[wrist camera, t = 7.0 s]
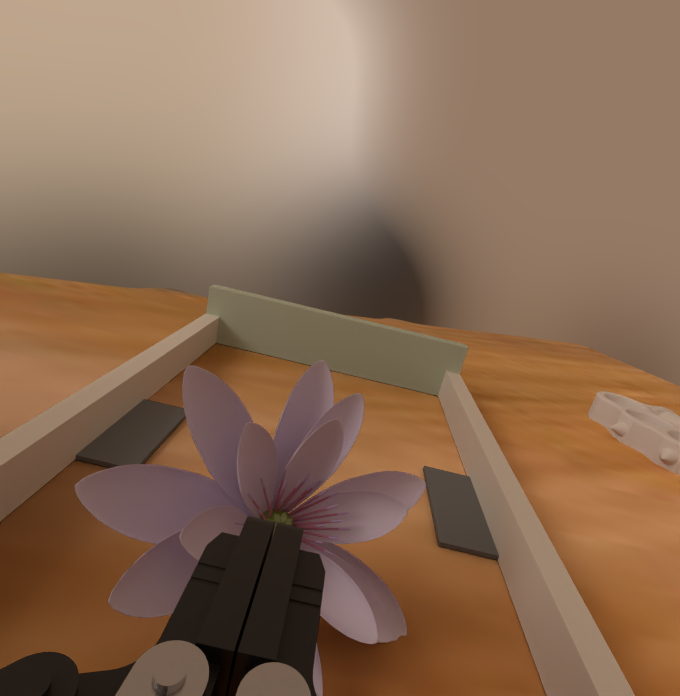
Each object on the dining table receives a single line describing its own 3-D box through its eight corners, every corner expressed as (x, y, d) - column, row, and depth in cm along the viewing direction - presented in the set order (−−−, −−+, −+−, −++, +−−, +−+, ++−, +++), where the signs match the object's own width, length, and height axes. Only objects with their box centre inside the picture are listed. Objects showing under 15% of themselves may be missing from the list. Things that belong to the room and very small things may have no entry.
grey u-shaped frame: (834, 1294, 8) (1061, 1179, 7) (-617, 950, 8) (-791, 738, 6) (449, 393, 50) (465, 344, 48) (207, 336, 50) (214, 284, 48)
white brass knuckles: (806, 507, 44) (721, 516, 38) (638, 417, 59) (560, 413, 54) (825, 479, 43) (740, 483, 37) (649, 394, 58) (570, 388, 53)
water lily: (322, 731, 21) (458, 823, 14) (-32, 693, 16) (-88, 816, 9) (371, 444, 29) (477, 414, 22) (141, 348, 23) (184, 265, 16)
